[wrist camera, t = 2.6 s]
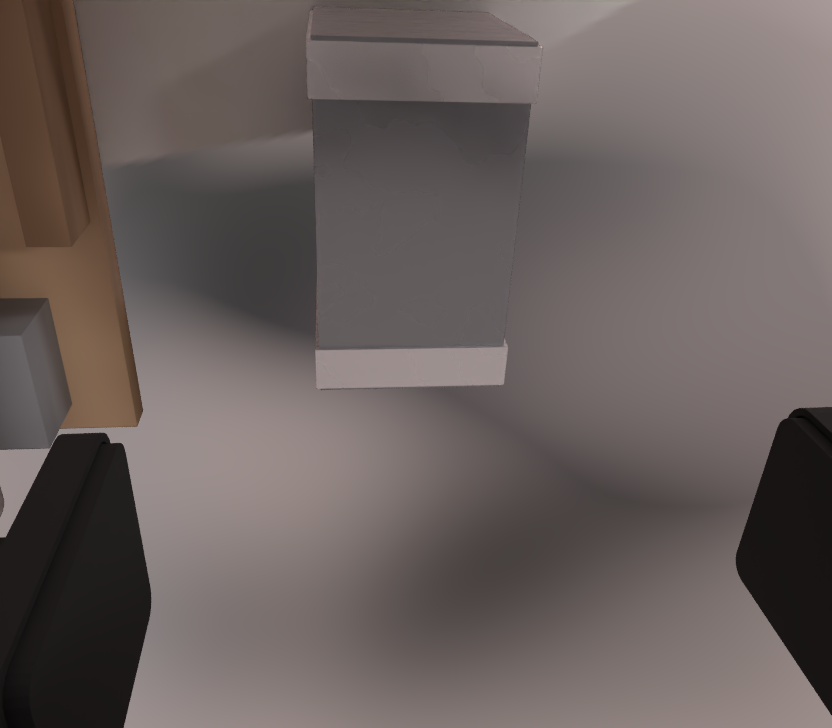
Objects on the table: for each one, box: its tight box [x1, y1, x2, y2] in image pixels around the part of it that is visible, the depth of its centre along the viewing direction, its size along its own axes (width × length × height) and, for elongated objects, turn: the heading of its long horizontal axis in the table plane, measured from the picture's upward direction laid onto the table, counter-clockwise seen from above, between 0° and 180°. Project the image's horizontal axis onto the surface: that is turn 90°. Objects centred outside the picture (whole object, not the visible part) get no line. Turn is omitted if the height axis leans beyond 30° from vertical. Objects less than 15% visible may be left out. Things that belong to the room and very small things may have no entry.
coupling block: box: [306, 6, 543, 390], centre depth 21 cm, size 5×9×6 cm, turn 178°
